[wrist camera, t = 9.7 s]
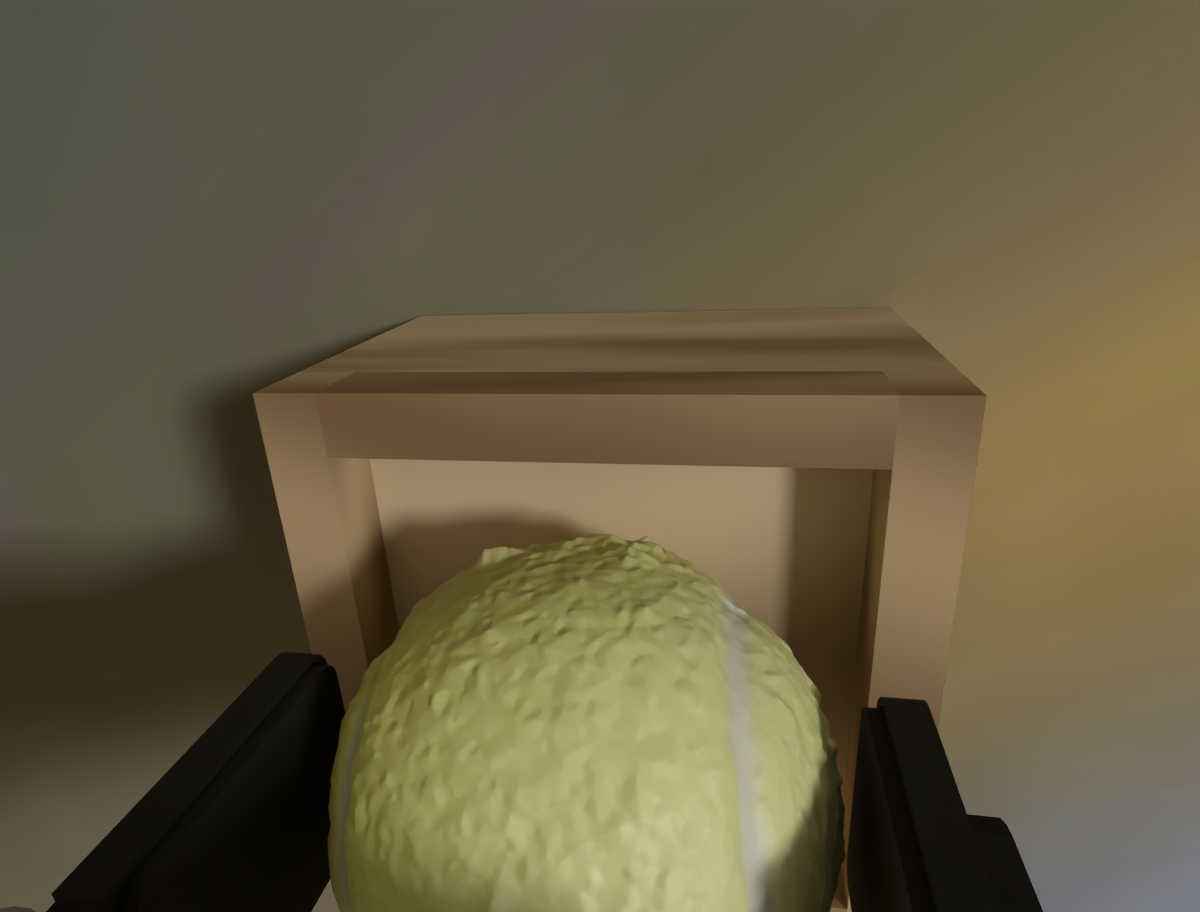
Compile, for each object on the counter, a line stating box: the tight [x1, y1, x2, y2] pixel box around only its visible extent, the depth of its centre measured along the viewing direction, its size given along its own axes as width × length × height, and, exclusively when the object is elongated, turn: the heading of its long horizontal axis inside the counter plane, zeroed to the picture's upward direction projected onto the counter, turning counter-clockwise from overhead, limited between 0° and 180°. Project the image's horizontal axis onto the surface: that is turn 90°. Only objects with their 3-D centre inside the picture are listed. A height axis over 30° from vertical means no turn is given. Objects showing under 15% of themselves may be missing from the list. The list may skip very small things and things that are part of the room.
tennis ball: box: [328, 533, 845, 912], centre depth 10 cm, size 6×7×7 cm
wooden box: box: [253, 308, 986, 912], centre depth 14 cm, size 10×10×6 cm
